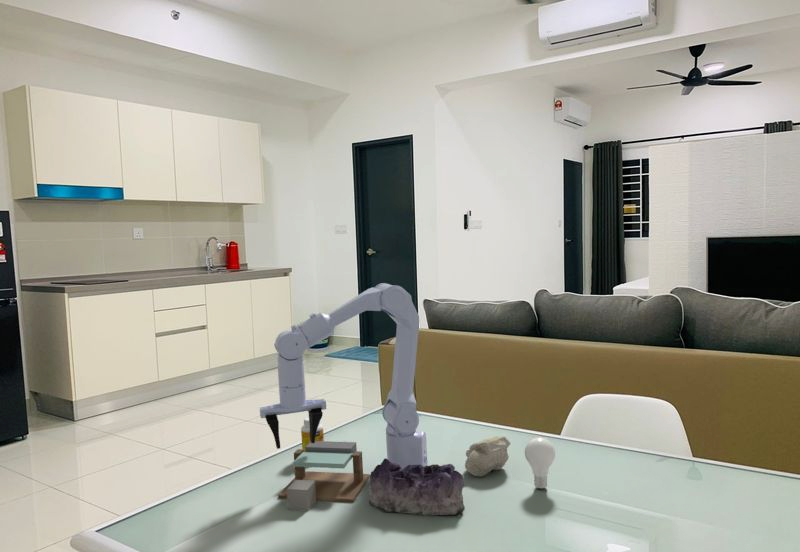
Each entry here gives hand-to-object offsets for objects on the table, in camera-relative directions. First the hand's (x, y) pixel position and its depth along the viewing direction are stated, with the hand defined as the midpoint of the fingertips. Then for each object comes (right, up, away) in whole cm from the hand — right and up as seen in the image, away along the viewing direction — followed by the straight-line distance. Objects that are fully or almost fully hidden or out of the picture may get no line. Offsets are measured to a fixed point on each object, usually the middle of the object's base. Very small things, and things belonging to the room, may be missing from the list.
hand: (295, 444), depth 132 cm
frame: (+7, -9, 0) cm, 12 cm away
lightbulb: (+54, -8, -6) cm, 55 cm away
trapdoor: (+7, -4, +1) cm, 8 cm away
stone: (+3, -10, -9) cm, 14 cm away
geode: (+27, -10, -11) cm, 31 cm away
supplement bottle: (+2, -9, +18) cm, 20 cm away
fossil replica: (+44, -8, +4) cm, 44 cm away
